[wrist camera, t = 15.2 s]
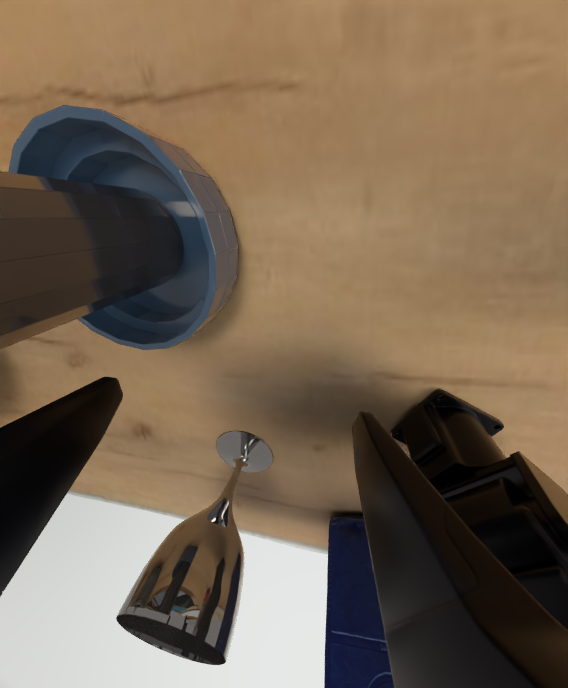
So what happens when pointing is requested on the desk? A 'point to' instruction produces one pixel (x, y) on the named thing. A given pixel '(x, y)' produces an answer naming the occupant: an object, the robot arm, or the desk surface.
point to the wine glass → (197, 571)
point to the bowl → (164, 184)
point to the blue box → (353, 611)
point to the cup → (77, 250)
